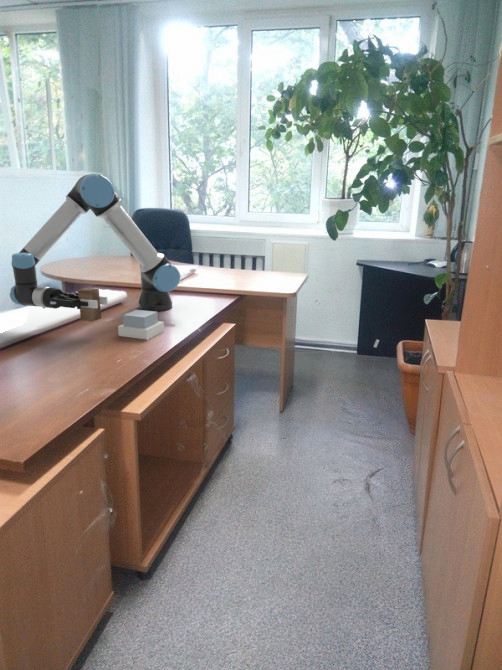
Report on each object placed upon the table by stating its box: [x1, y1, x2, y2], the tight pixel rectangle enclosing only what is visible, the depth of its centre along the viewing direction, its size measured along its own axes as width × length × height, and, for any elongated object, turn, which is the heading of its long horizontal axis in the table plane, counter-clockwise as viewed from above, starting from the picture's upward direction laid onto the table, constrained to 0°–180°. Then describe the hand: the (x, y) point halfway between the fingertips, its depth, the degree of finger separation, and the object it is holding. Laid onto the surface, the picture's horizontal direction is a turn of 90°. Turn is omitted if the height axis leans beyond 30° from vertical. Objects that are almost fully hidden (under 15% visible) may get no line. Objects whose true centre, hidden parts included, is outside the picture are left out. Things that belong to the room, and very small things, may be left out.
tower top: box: [122, 309, 159, 328], centre depth 176 cm, size 9×9×4 cm
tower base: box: [117, 320, 165, 341], centre depth 177 cm, size 12×12×4 cm
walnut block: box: [77, 287, 102, 322], centre depth 170 cm, size 5×5×11 cm
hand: (101, 302), depth 168 cm, fingers closed on walnut block, 5 cm apart
